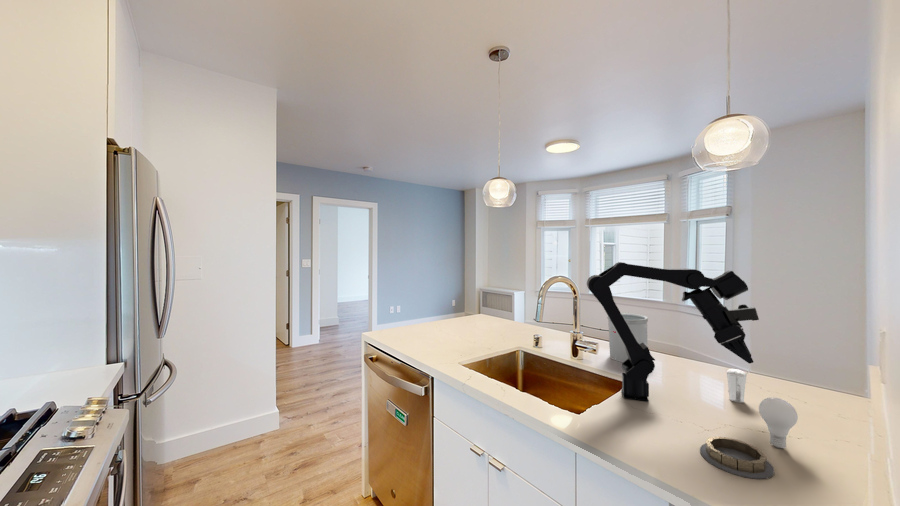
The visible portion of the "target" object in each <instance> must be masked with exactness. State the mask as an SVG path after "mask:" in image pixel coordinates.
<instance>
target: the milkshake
mask: <svg viewBox="0 0 900 506" xmlns="http://www.w3.org/2000/svg"><path fill="white" fill-rule="evenodd" d="M749 372H750V370H748V371H747V372H745V371H743V370H741V369H736V368H729V369H727V370H726V379H727V387H728V396H729V397H728V398H729V400H730V401H731V402H734V403H740V404H741V403H742V404H743V403H744V402H745V401H744V400H745V391H746V390H745V389H746V383H747V375H748V374H749Z"/></svg>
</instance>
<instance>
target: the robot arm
mask: <svg viewBox="0 0 900 506" xmlns="http://www.w3.org/2000/svg"><path fill="white" fill-rule="evenodd" d="M624 276H628V277H632V278H633V277H634V278H635V277H636V278H642V279H648V280H654V281H659V282H660V281H662V282H667V283H670V284H673V285H675V286H679V287H682V288H686V289H689V290H691V291H690V292H688V291H683V292H682V297H681V302H685V301H687V300H690V301H691V302H692V303H693V305H694V306H695V308H696V309H697V310H698V312H699V313H700V314H701V316H702V318H703V319H704V320H705V321H706V322H707V323H708V325H709V326H710V328H711V329H712V331H713V333H714V336H713V338H714V340H716V343H718V344H719V345H720V346H722V347H724V348H725V349H727V350H729V352H731V353H733V354H734V355H736V356H738V358H740V359H742V360H743V361H745V362H746V363H748V364H752V363H754V359H753V358H752V353H751V352H750V350H749V348H748V346H747V344H746V342H745V339H746V333H745V332H744V328H743V325H742V324H741V323H740V322H744V321H759V320H760V318H759V316H758V315H759V314H758V311H757V309H756V307H754V306H753V307H749V306H747V305H746V304H739V305H738V308H733V309H728V307H727V306H725V305H723V304H722V302H721V301H720V300H721V299H723V300H725V301H728V300H730V299H733V298H735V297H737V296H739V295H741V294H743V293H746V292H748V291H749V287H748V285H747V283H746V282H745V281H744V280H743V279H742V278H740V277H739V275H737V274H736V273H735V272H734V271H733V270H727V271H725V272H723V273H722V274H720V275H719V276H715V277H714V278H710V277H706V276H705V274H704V273H703V272H702V271H701V270H698V269H694V268H692V269H691V268H688V267H687V268H660V267H653V266H645V265H638V264H630V263H626V262H621V261H620V262H619V261H618V262H616V263H615V264H613V265H612V266H611V267H609V268H607V269H606V270H604V271H602V272H601V273H599V274H594V275H591V276H590V277H588V279H587V280H586V288H587V289H588V290H589V291H590V292H591V294H592V295H593V296H594V297H595V299H596V300H597V301H598V302H599V304H600V305H601V306H602V308H603V310H604V311H605V313H606V315H607V318H608V317H609V319H610V320H611V322H612V324H613V326H614V327H615V329H616V331H617V333H618V334H619V336H620V338H621V340H622V342H623V343H624V346H625V350H626V353H627V356H628V359H627V360H626V361H624V362H621V365H620V366H621V368H622V371H623V372H622V375H621V376H622V378H621V381H622V382H621V383H622V384H621V385H622V387H621V394H622V397H623V399H628V400H636V401H643V402H648V401H649V396H650V384H649V382H648V378H649V375H650V374H651V373H653V372H654V369H655V368H656V365H655V362H654V361H656V358H655V357H653V355H652V354H651V351H650V349H649V346H648V345H647V346H646V345H645V344H644V343H643V342H642V343H641V344H639V343H638V342H637V341H636V339H635V337H634V335H633V334H632V332H631V330H630V328H629V327H628V325H627V323H626V321H625V320H624V318H623V316H622V314H621V313H622V312H621V311H620V310H619V308H618V306H617V304H616V301H615V300H614V297H613V293H612V290H611V288H610V287H611V286H612V285H613V284H615V283H616V282H617V281H618V280H620V279H621V278H623V277H624ZM701 287H704V288H705V287H706V288H705V289H703V290H702V289H701Z"/></svg>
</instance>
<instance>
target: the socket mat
mask: <svg viewBox="0 0 900 506" xmlns="http://www.w3.org/2000/svg"><path fill="white" fill-rule="evenodd" d="M715 449H716V450H718V451H720V452H721V453H723V454H725V455H728V456H731V457H734V458H736V459H742V460H748V461H753V460H756V459H755V458H753V457H751V456H749V455H748V454H746V453H743V452H740V451H737V450H734V449H729V448H723V447H720V448H715ZM699 453H700V455H701V457H702V458H703V459H704V460H706V461H707V462H708V463H709V464H710V465H713V466H714V467H715V468H717V469H720V470H722V471H724V472H727V473H729V474H732V475H735V476H738V477H741V478H747V479H752V480H753V479H755V480H766V479H770V478H773V476H774V475H775V469H774V466H773V465H772V463H770V462H769V461H768V460H767V467H766V470H765V472H761V473H747V472H742V471H738V470H734V469H731V468H729V467H726V466H724V465H722V464H720V463H718V462H716V461H715V460H713V459H712V458H710V457H709V455H708V453H707V452H706V443H704V444H702V445H701V446H700V448H699Z"/></svg>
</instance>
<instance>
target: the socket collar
mask: <svg viewBox="0 0 900 506" xmlns="http://www.w3.org/2000/svg"><path fill="white" fill-rule="evenodd" d="M705 444H706V452H707V453H708V455H709V457H710V458H712V459H713V460H715V461H716V462H718V463H720V464H722V465H724V466H726V467H729V468H731V469H734V470H738V471H742V472H747V473H761V472H765V470H766V467H767V461H768V460H767V459H768V458H767V456H766V454H765V453H764V452H763V451H762V450H761V449H760V448H757V447H755V446H753V445H751V444H750V443H748V442H745V441H742V440H739V439H735V438H732V437H726V436H710V437H708V438H707V439H706V440H705ZM720 447H723V448H729V449H734V450H737V451H740V452H743V453H746V454H748V455H749V456H751V457H753V458H755V459H756V460H753V461H748V460H742V459H736V458H734V457H731V456H728V455H725V454H723V453H721V452H720V451H718V450H716V449H715V448H720Z"/></svg>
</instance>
